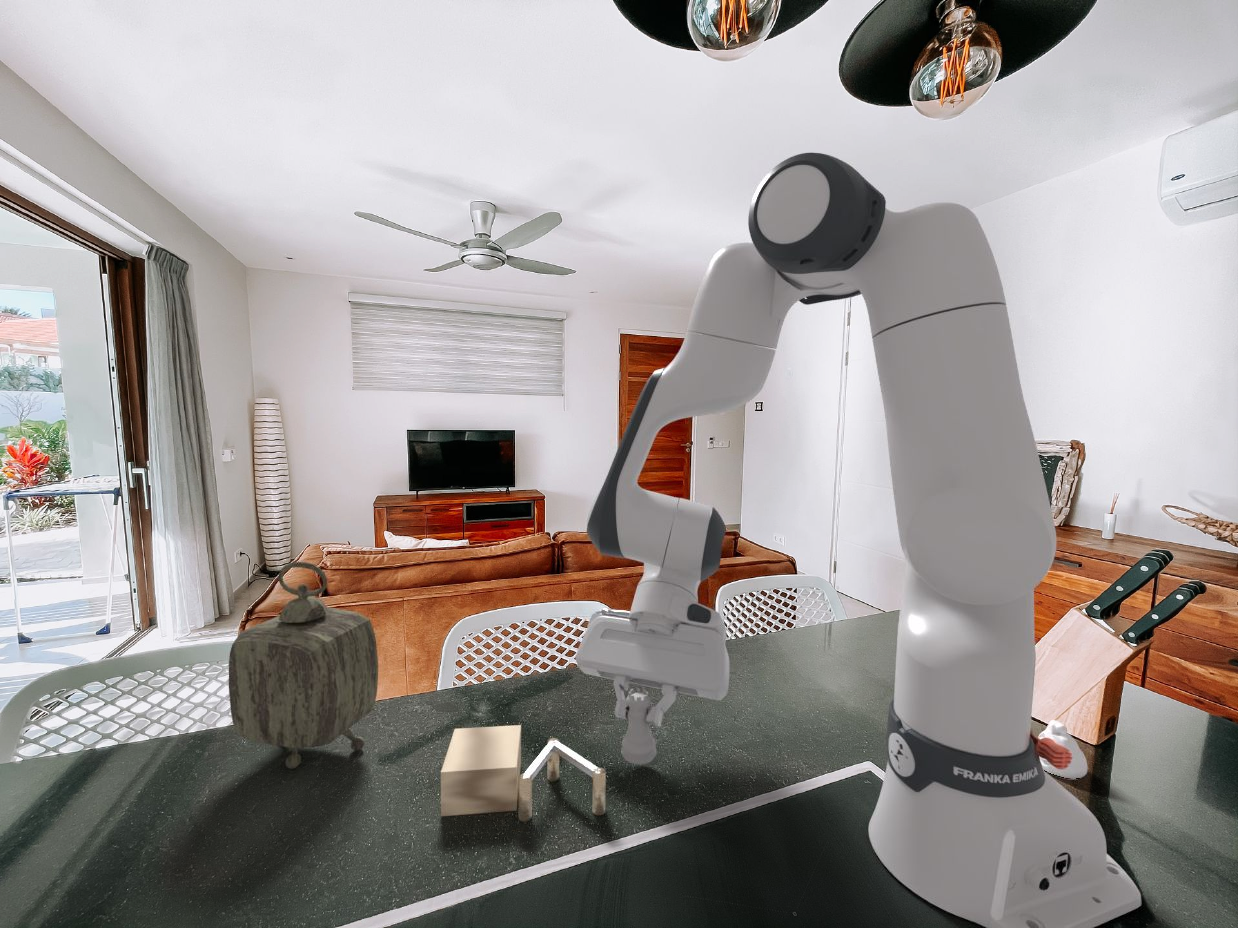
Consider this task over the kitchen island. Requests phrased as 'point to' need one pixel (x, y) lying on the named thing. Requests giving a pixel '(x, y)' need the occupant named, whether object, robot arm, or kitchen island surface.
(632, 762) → the rook chess piece
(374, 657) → the tabletop clock
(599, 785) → the railing
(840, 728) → the kitchen island surface
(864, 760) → the kitchen island surface
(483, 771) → the pedestal
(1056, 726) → the garlic bulb
